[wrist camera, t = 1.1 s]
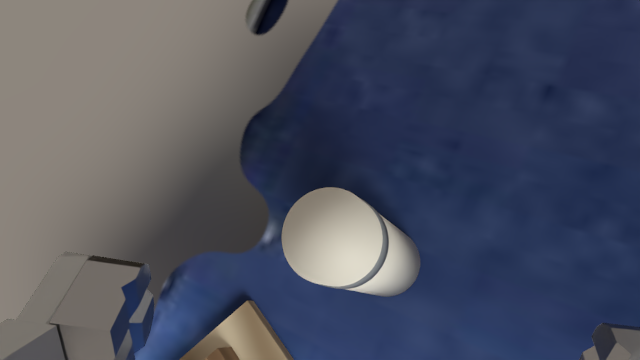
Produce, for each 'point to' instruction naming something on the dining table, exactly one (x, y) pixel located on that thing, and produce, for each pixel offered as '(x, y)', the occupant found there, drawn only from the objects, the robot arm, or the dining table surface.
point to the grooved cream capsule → (348, 245)
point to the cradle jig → (241, 339)
